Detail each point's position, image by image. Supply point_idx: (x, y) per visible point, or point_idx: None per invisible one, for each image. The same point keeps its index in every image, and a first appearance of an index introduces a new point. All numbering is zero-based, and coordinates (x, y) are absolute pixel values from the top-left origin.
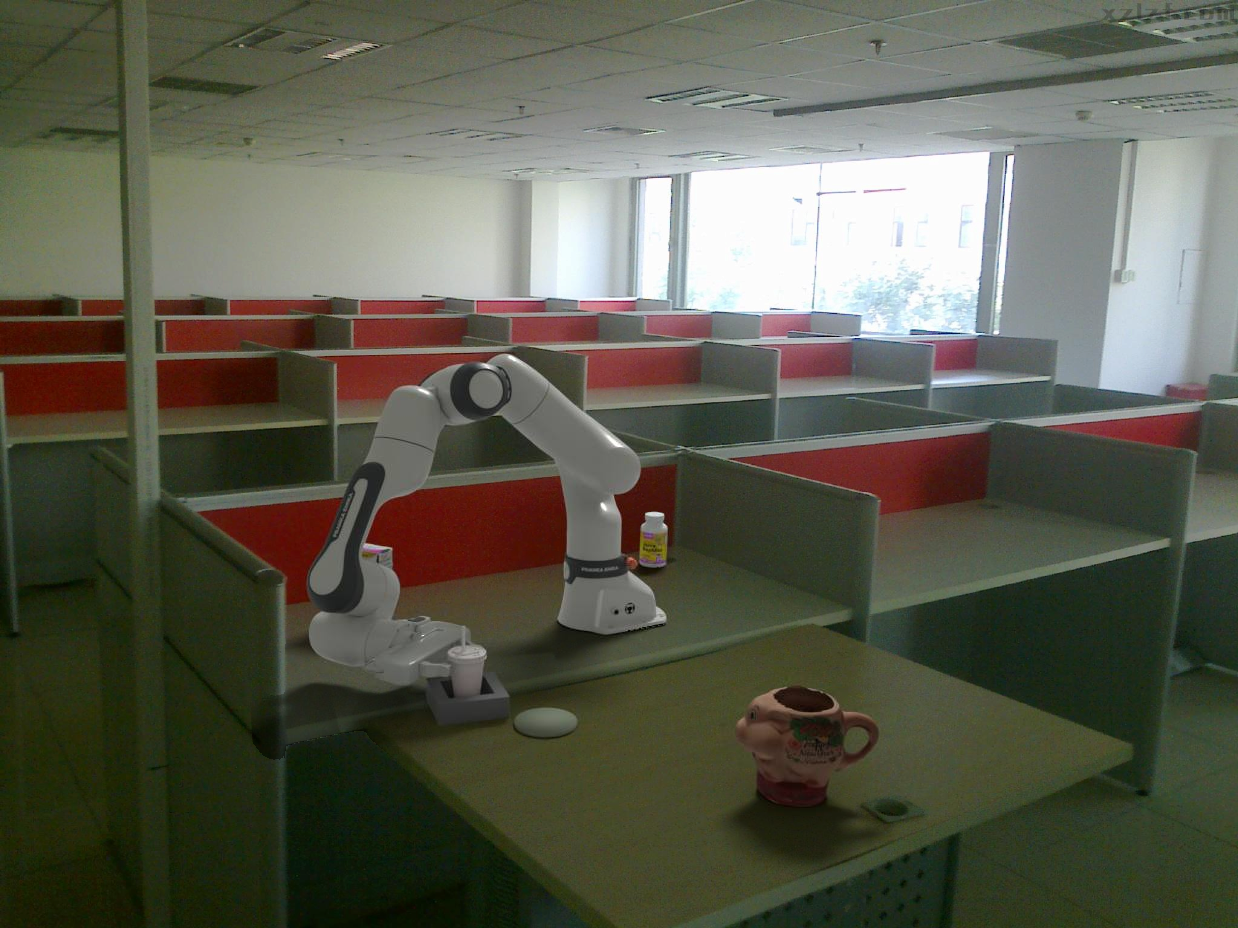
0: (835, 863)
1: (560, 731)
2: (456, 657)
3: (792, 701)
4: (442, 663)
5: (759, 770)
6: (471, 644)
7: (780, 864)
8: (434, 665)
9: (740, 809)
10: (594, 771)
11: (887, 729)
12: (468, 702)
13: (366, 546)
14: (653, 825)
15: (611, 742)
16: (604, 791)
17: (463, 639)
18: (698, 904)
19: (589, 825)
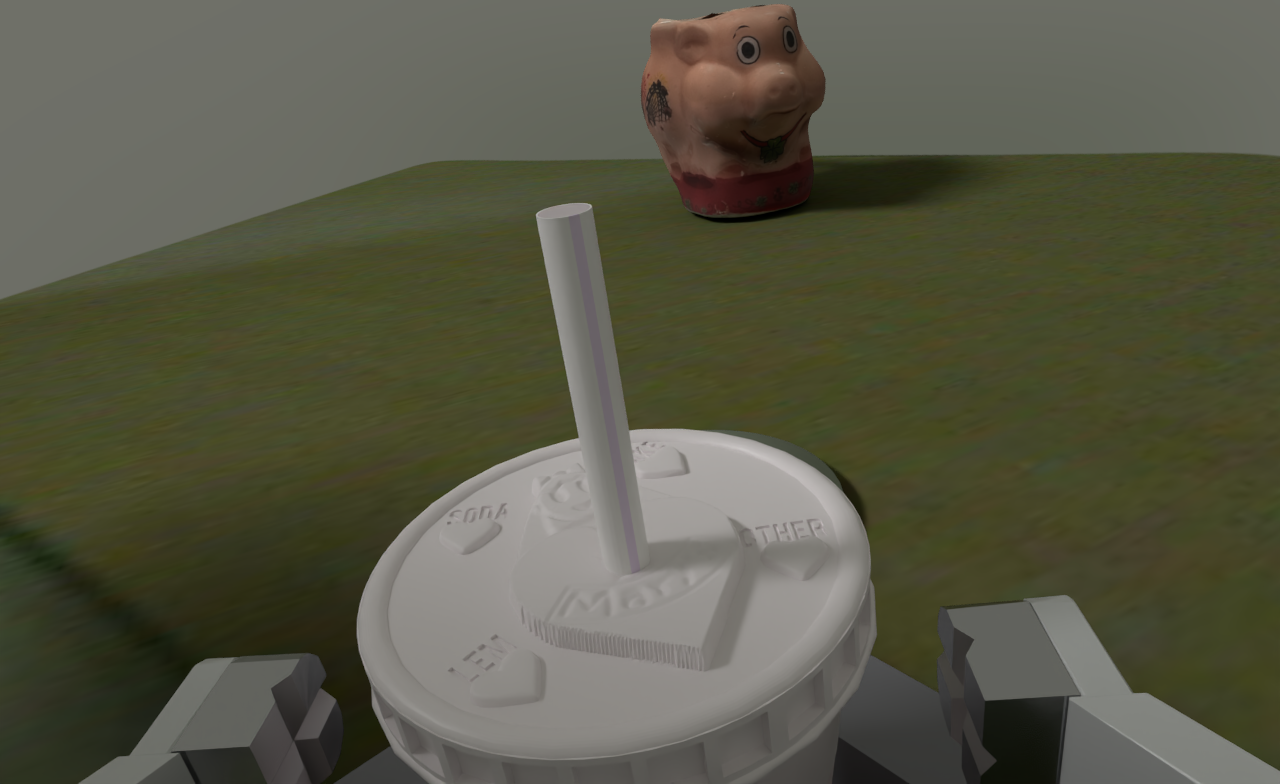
0: (926, 155)
1: (759, 439)
2: (859, 530)
3: (660, 61)
4: (1027, 686)
5: (784, 165)
6: (156, 763)
7: (989, 164)
8: (1200, 724)
9: (866, 208)
10: (932, 328)
11: (432, 221)
12: (936, 698)
13: None
14: (1053, 226)
15: (719, 366)
16: (1012, 290)
17: (622, 399)
18: (1203, 158)
19: (1188, 255)
